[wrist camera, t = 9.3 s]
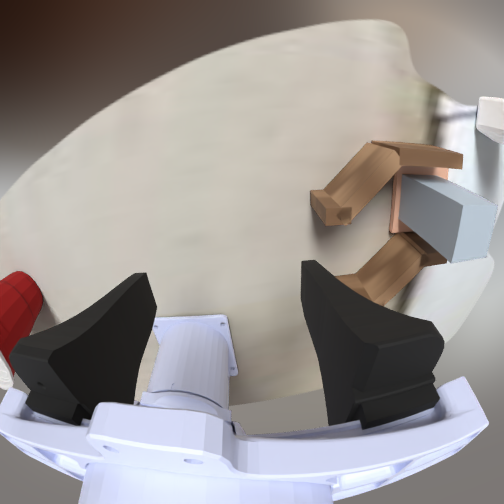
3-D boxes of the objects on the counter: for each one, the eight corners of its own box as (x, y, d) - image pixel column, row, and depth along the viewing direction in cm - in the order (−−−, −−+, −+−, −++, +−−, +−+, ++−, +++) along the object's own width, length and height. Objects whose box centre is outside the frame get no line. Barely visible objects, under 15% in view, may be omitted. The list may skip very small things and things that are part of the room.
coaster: (437, 226, 23) (440, 229, 22) (389, 230, 23) (392, 233, 22) (445, 161, 20) (448, 162, 19) (394, 158, 20) (397, 159, 19)
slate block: (431, 217, 22) (485, 257, 14) (398, 218, 22) (451, 263, 14) (436, 175, 20) (497, 205, 13) (402, 174, 20) (463, 205, 13)
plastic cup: (50, 259, 23) (-16, 332, 12) (66, 332, 28) (27, 404, 17) (-8, 242, 22) (-68, 295, 11) (11, 310, 27) (-31, 367, 16)
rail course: (414, 275, 25) (435, 300, 21) (309, 289, 25) (320, 321, 21) (431, 145, 19) (463, 154, 15) (308, 140, 19) (324, 146, 15)
